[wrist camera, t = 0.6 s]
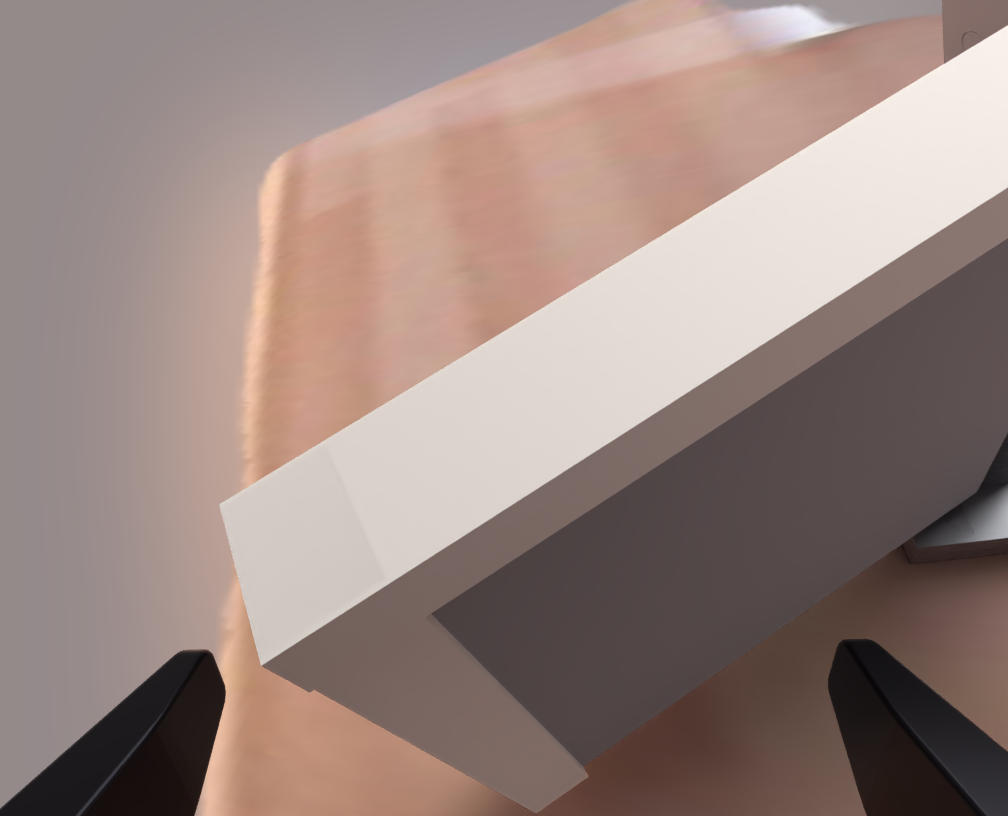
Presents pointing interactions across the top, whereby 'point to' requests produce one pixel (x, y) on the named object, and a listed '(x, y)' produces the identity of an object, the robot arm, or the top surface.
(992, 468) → the post
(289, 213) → the top surface
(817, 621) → the top surface
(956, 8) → the grey arched slab
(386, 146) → the top surface
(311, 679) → the grey flat upright panel
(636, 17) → the top surface
